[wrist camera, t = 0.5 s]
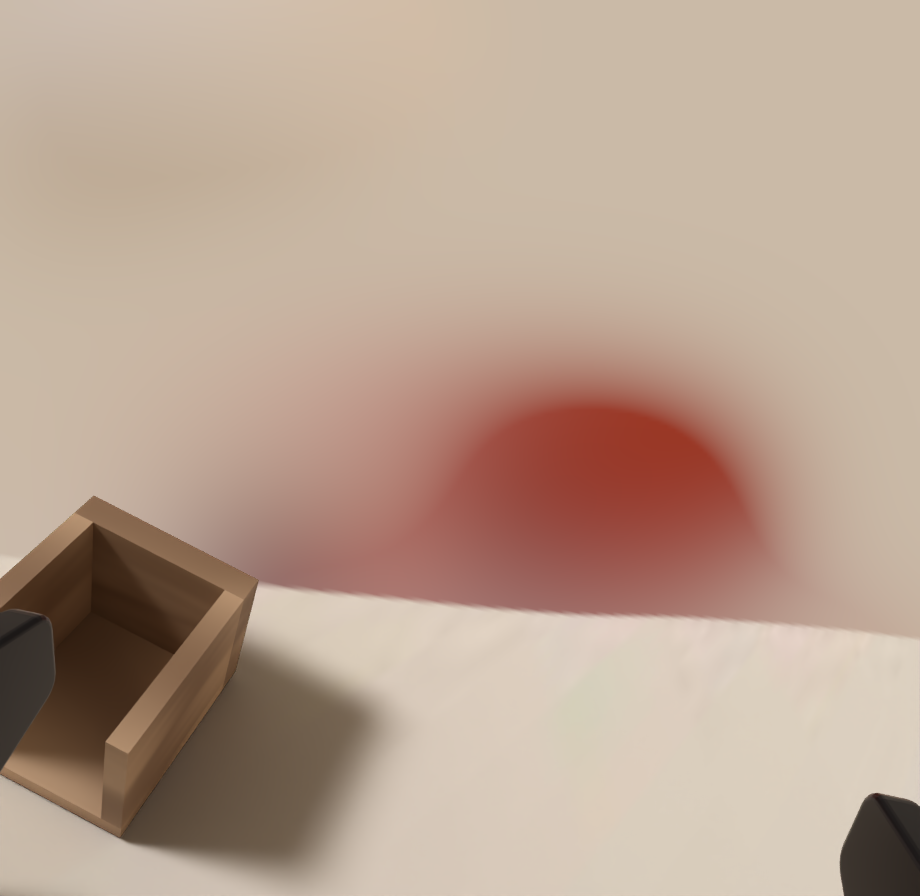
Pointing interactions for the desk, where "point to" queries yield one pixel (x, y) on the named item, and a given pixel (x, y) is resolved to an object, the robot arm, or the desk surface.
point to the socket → (122, 657)
